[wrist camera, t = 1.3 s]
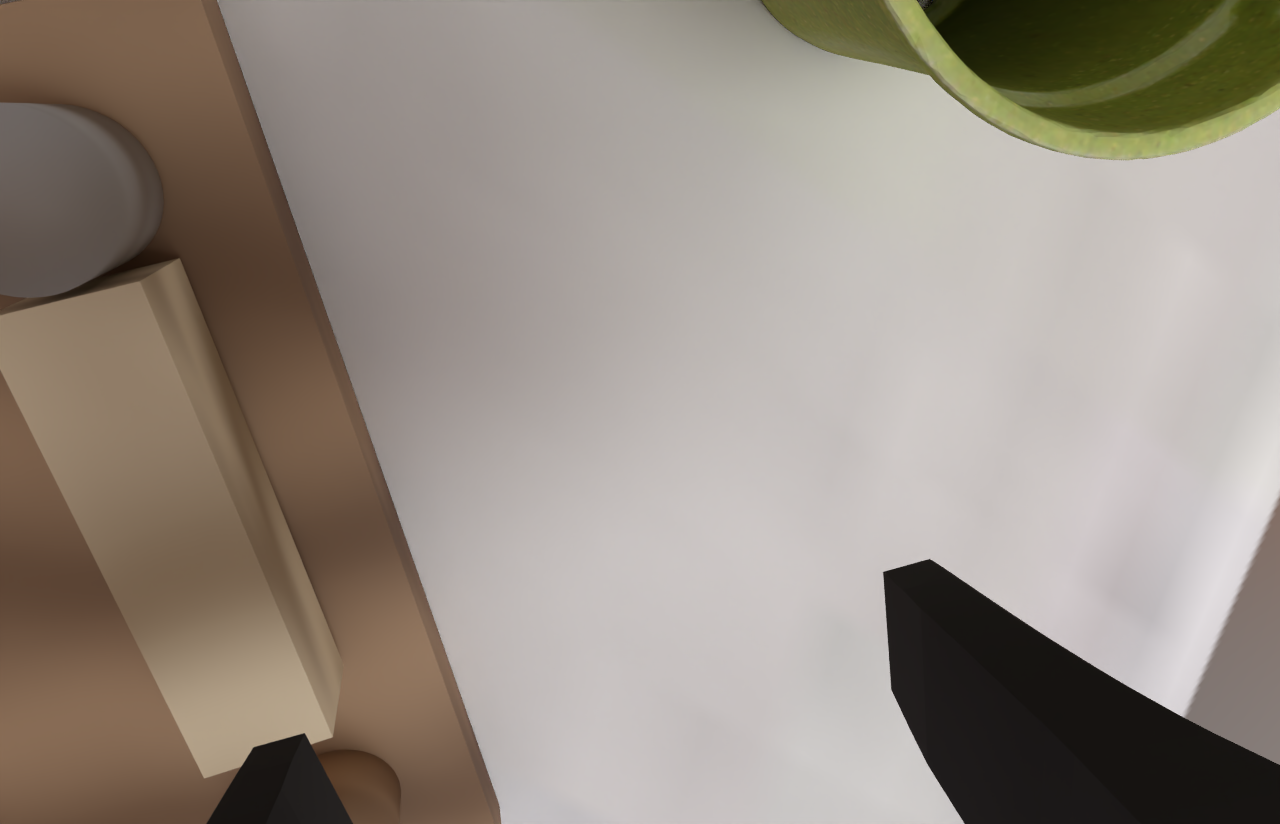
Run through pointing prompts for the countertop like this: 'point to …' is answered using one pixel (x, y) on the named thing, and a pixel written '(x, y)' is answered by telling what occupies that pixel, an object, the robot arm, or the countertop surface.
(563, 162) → the countertop surface
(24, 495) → the brown wooden flat board
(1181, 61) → the plant pot
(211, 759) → the long beige beam
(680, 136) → the countertop surface
